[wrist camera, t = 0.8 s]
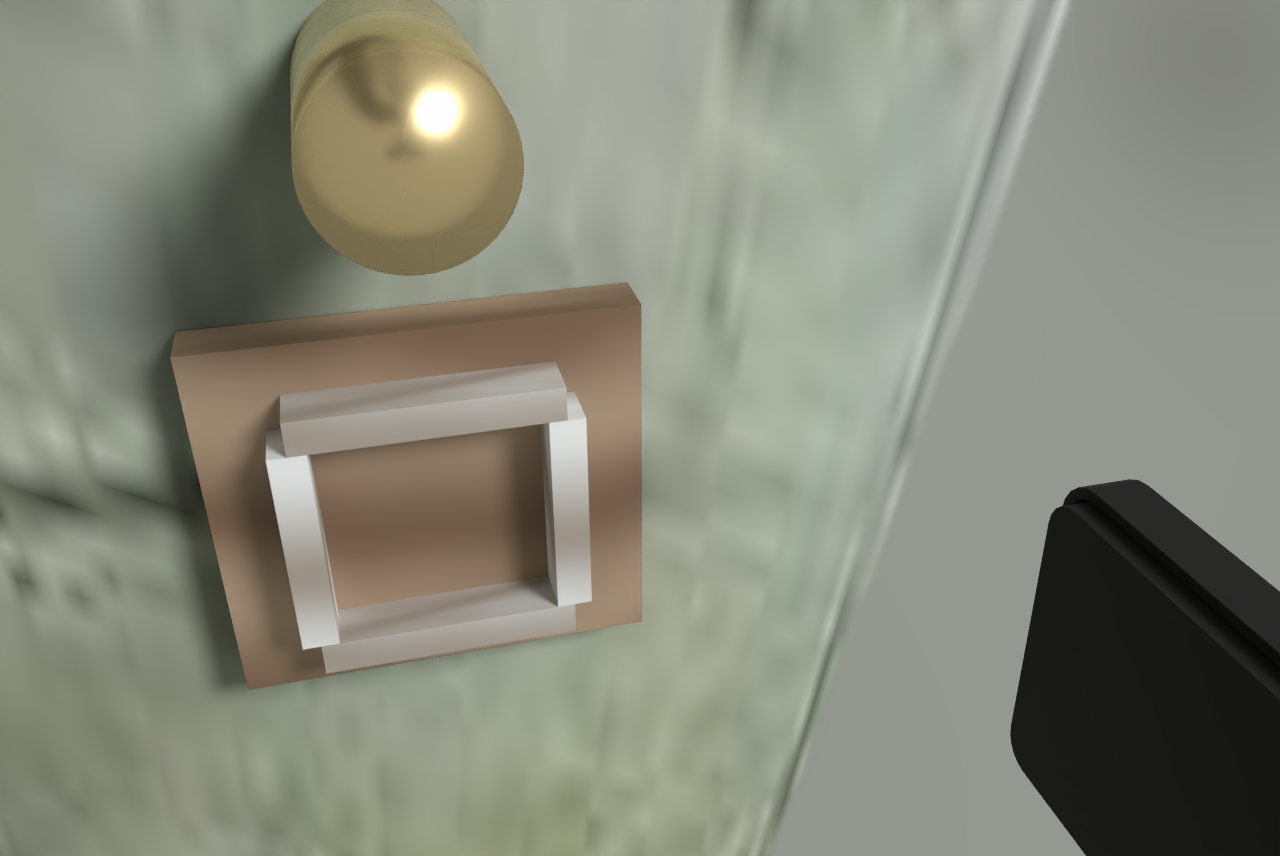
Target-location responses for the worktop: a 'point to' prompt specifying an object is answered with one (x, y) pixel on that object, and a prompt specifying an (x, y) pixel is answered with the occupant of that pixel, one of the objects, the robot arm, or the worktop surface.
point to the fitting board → (420, 476)
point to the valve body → (399, 137)
